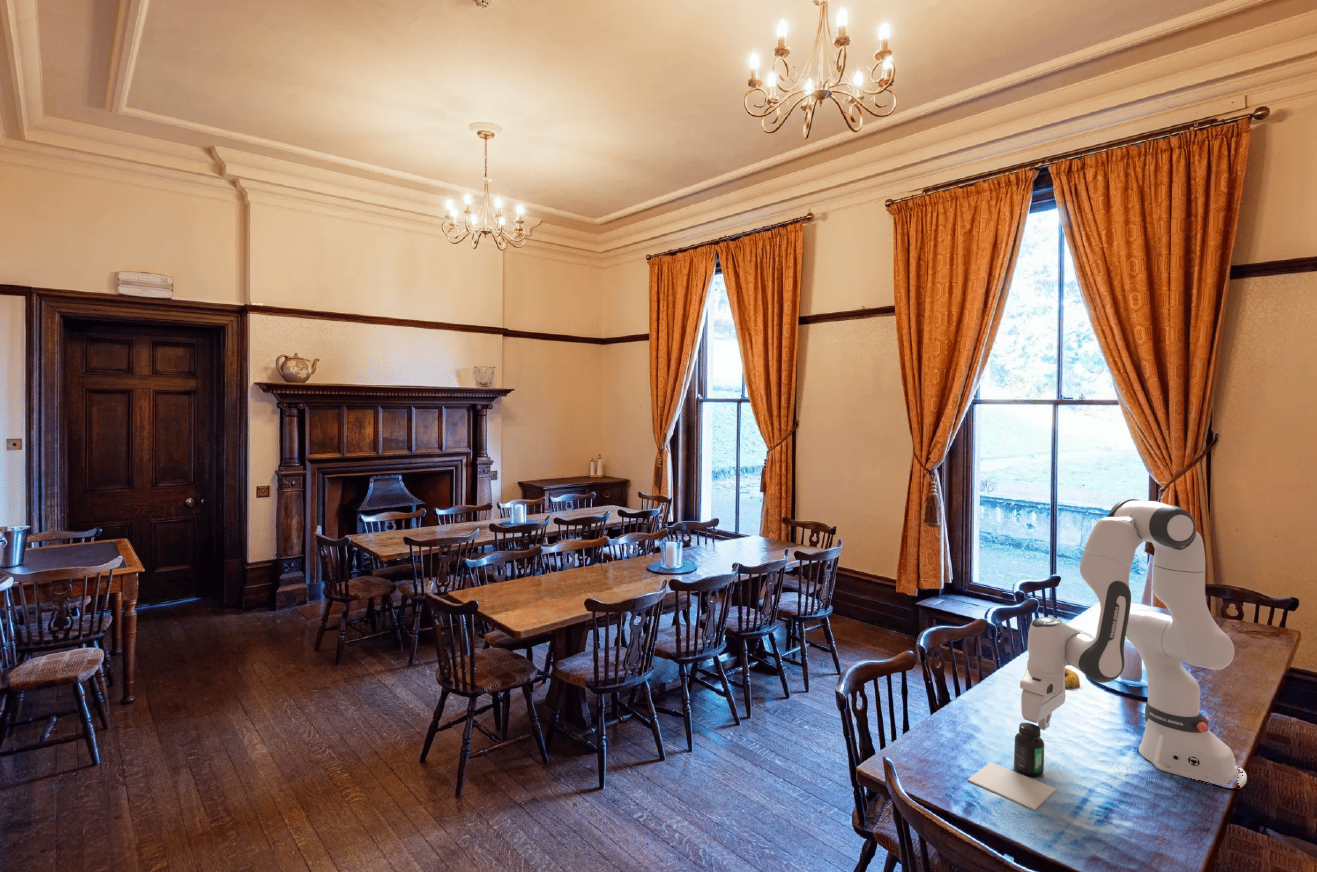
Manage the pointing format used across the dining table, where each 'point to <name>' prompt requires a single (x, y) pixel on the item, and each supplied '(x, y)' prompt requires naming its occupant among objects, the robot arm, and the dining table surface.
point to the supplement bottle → (1029, 751)
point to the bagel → (1071, 679)
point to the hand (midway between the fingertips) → (1043, 727)
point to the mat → (1012, 785)
